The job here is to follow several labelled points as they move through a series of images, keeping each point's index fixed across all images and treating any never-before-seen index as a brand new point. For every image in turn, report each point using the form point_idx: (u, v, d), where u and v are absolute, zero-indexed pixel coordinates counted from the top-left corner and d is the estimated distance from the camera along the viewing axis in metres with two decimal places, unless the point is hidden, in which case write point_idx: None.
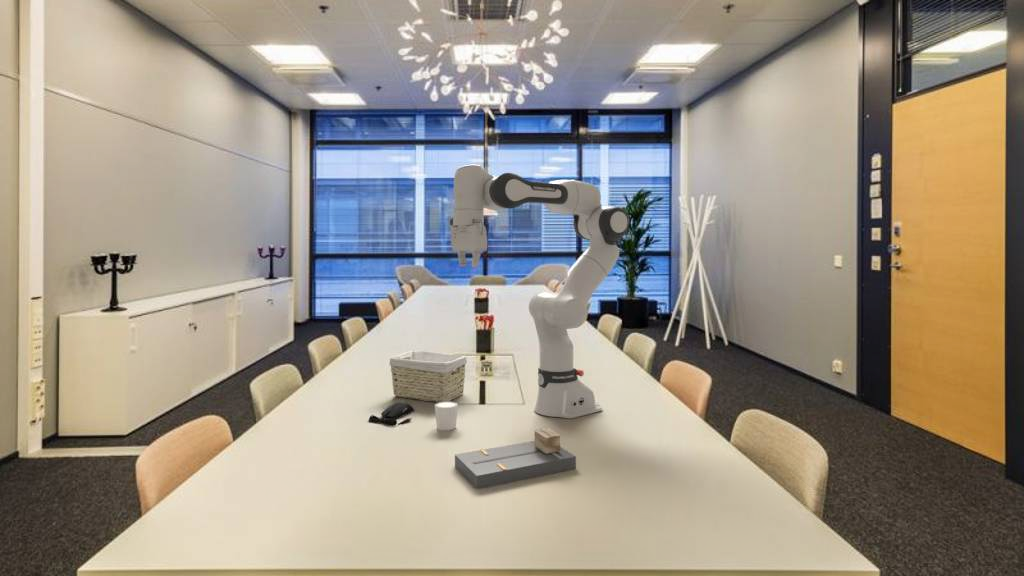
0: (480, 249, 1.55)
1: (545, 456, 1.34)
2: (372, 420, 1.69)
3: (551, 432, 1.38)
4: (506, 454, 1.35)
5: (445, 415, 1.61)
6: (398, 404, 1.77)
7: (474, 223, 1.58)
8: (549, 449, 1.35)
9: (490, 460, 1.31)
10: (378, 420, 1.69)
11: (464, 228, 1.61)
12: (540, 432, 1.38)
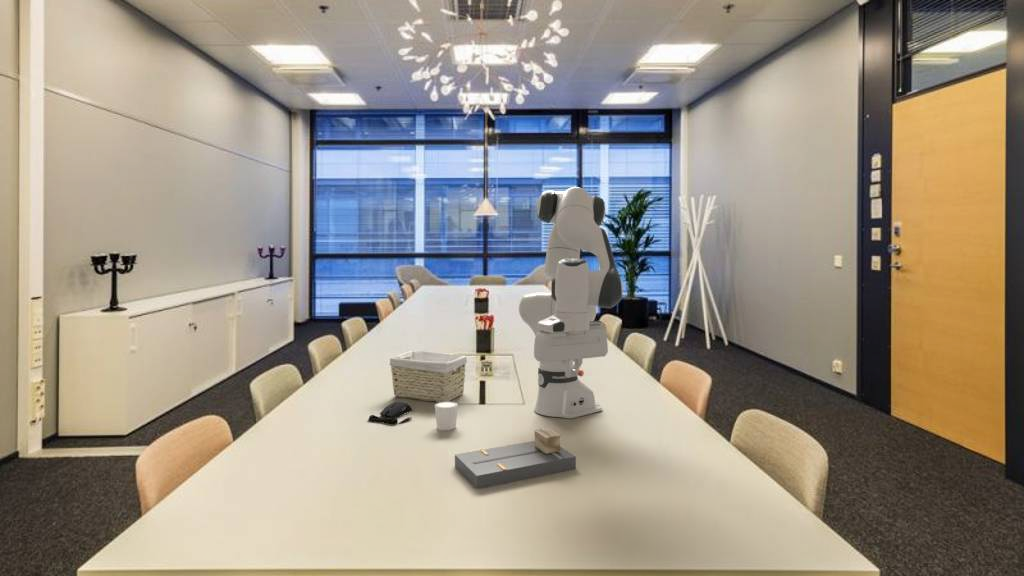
0: None
1: (545, 456, 1.34)
2: (372, 420, 1.70)
3: (551, 432, 1.38)
4: (506, 454, 1.35)
5: (445, 415, 1.61)
6: (397, 403, 1.78)
7: (591, 326, 1.41)
8: (549, 449, 1.35)
9: (490, 460, 1.31)
10: (378, 420, 1.69)
11: (584, 333, 1.38)
12: (540, 432, 1.38)
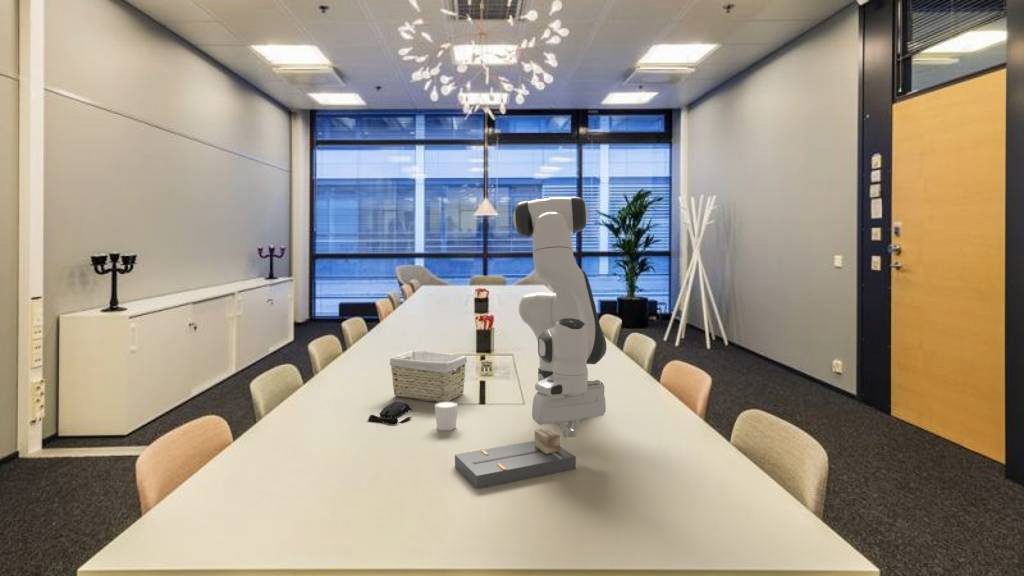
0: None
1: (545, 456, 1.34)
2: (372, 419, 1.70)
3: (551, 432, 1.38)
4: (506, 454, 1.35)
5: (445, 415, 1.61)
6: (396, 403, 1.78)
7: (589, 386, 1.42)
8: (549, 449, 1.35)
9: (490, 460, 1.31)
10: (378, 419, 1.69)
11: (582, 394, 1.39)
12: (540, 432, 1.38)
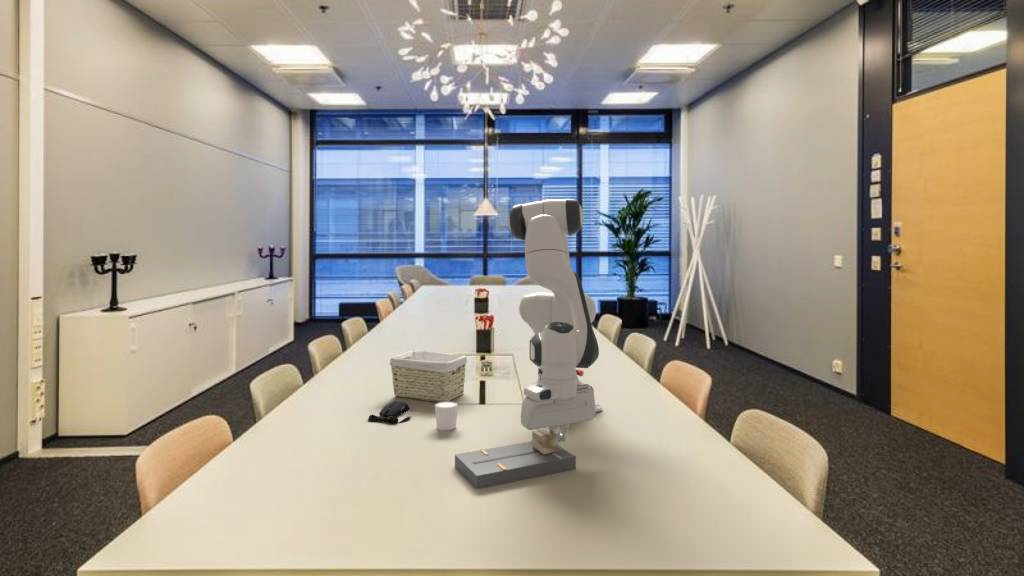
0: None
1: (545, 456, 1.34)
2: (372, 419, 1.70)
3: (549, 432, 1.38)
4: (506, 454, 1.35)
5: (445, 415, 1.61)
6: (395, 403, 1.78)
7: (578, 390, 1.41)
8: (547, 449, 1.35)
9: (490, 460, 1.31)
10: (379, 419, 1.70)
11: (571, 398, 1.38)
12: (538, 432, 1.38)
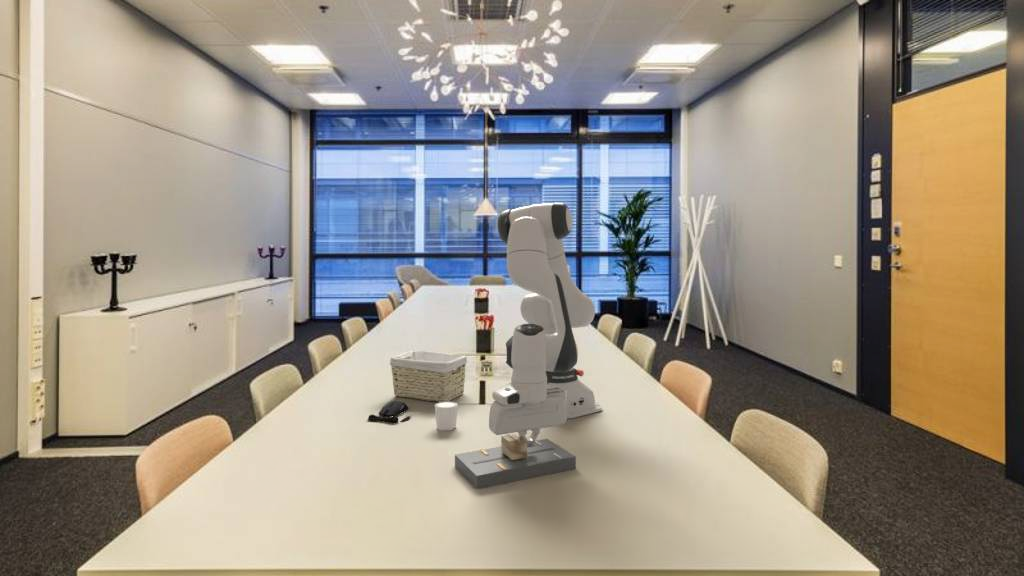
0: None
1: (545, 456, 1.34)
2: (372, 419, 1.70)
3: (518, 438, 1.34)
4: None
5: (445, 415, 1.61)
6: (395, 403, 1.79)
7: (549, 394, 1.37)
8: (515, 455, 1.31)
9: (490, 460, 1.31)
10: (379, 419, 1.70)
11: (541, 402, 1.34)
12: (507, 438, 1.34)
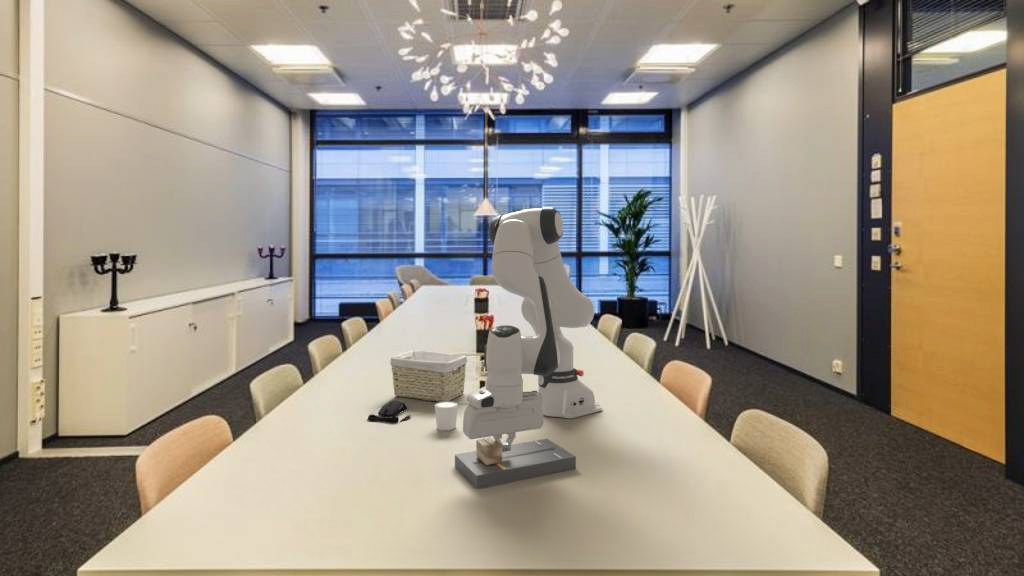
0: None
1: (545, 456, 1.34)
2: (372, 419, 1.70)
3: (493, 442, 1.31)
4: (506, 454, 1.35)
5: (445, 415, 1.61)
6: (394, 402, 1.79)
7: (525, 397, 1.34)
8: (490, 460, 1.28)
9: None
10: (379, 419, 1.70)
11: (516, 406, 1.31)
12: (482, 442, 1.31)
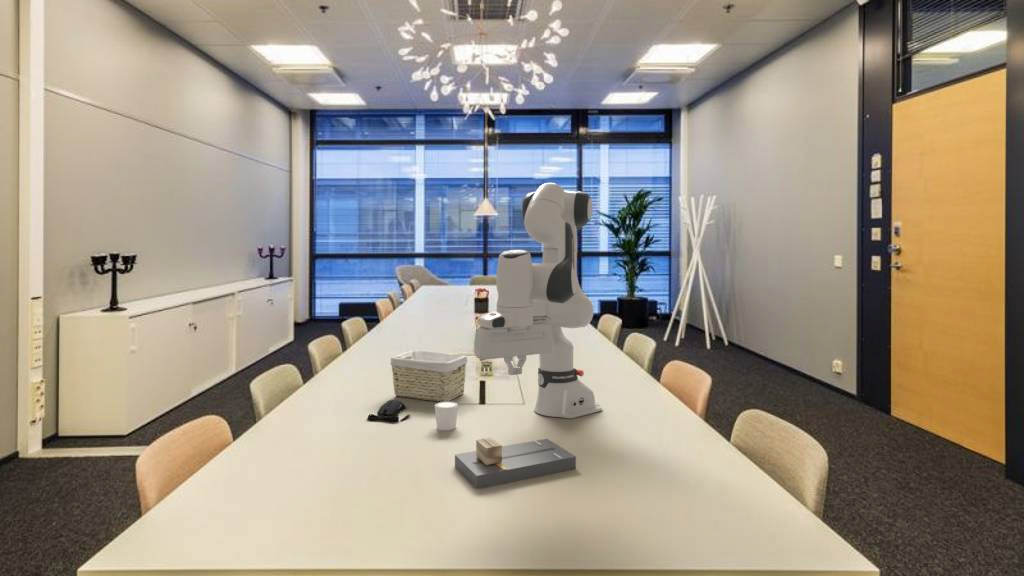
0: None
1: (545, 456, 1.34)
2: (372, 419, 1.70)
3: (493, 442, 1.31)
4: (506, 454, 1.35)
5: (445, 415, 1.61)
6: (392, 402, 1.79)
7: (535, 321, 1.35)
8: (490, 460, 1.28)
9: None
10: (379, 418, 1.70)
11: (527, 328, 1.32)
12: (481, 442, 1.31)
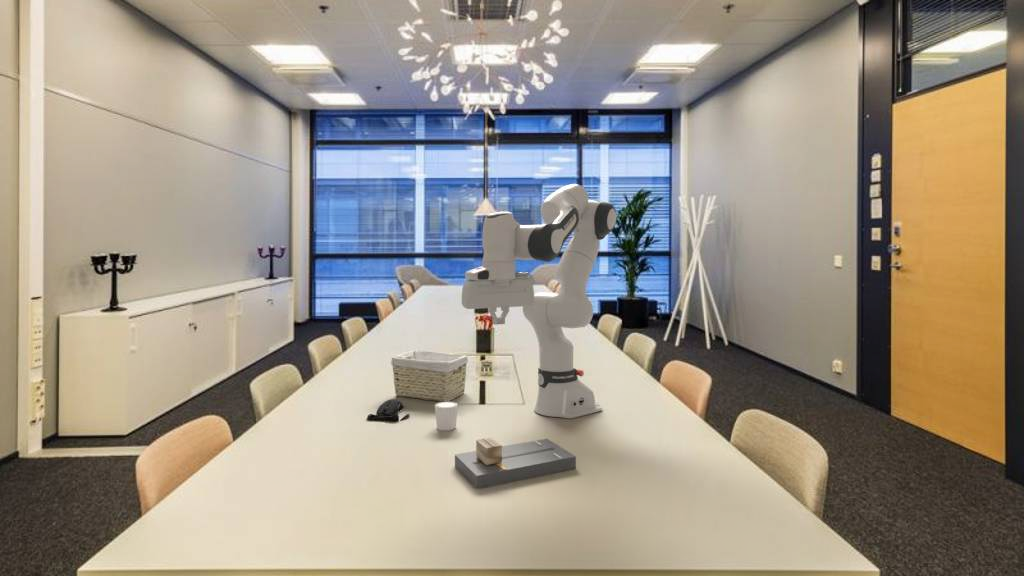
0: None
1: (545, 456, 1.34)
2: (372, 419, 1.71)
3: (493, 442, 1.31)
4: (506, 454, 1.35)
5: (445, 415, 1.61)
6: (391, 401, 1.80)
7: (518, 276, 1.49)
8: (490, 460, 1.28)
9: None
10: (379, 418, 1.71)
11: (509, 282, 1.46)
12: (481, 442, 1.31)
